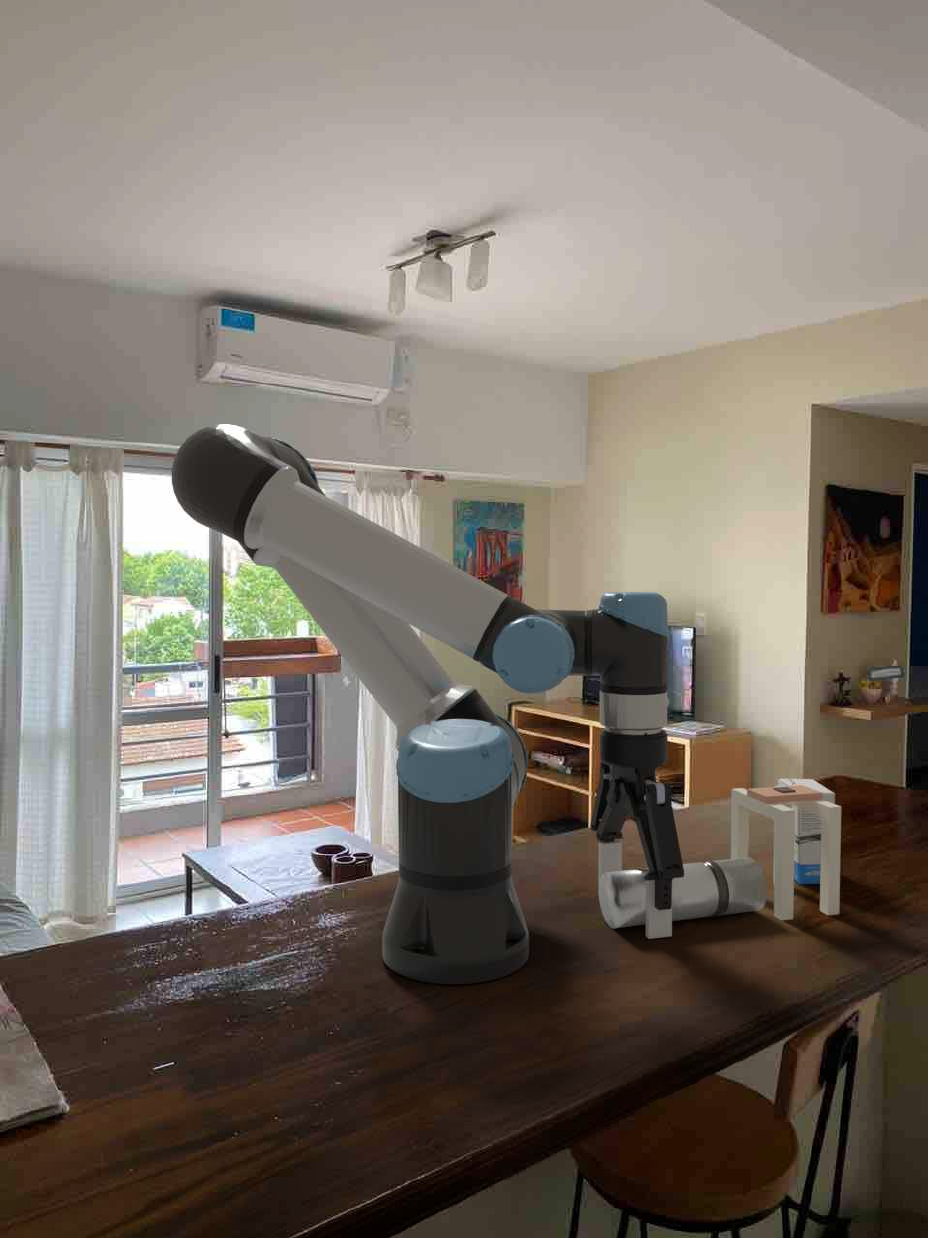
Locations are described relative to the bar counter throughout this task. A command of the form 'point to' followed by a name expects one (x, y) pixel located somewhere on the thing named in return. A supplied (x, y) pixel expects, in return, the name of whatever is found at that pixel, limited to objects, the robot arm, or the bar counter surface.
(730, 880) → the silver metal cylinder
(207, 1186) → the bar counter surface
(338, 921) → the bar counter surface
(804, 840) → the ink box
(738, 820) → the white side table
